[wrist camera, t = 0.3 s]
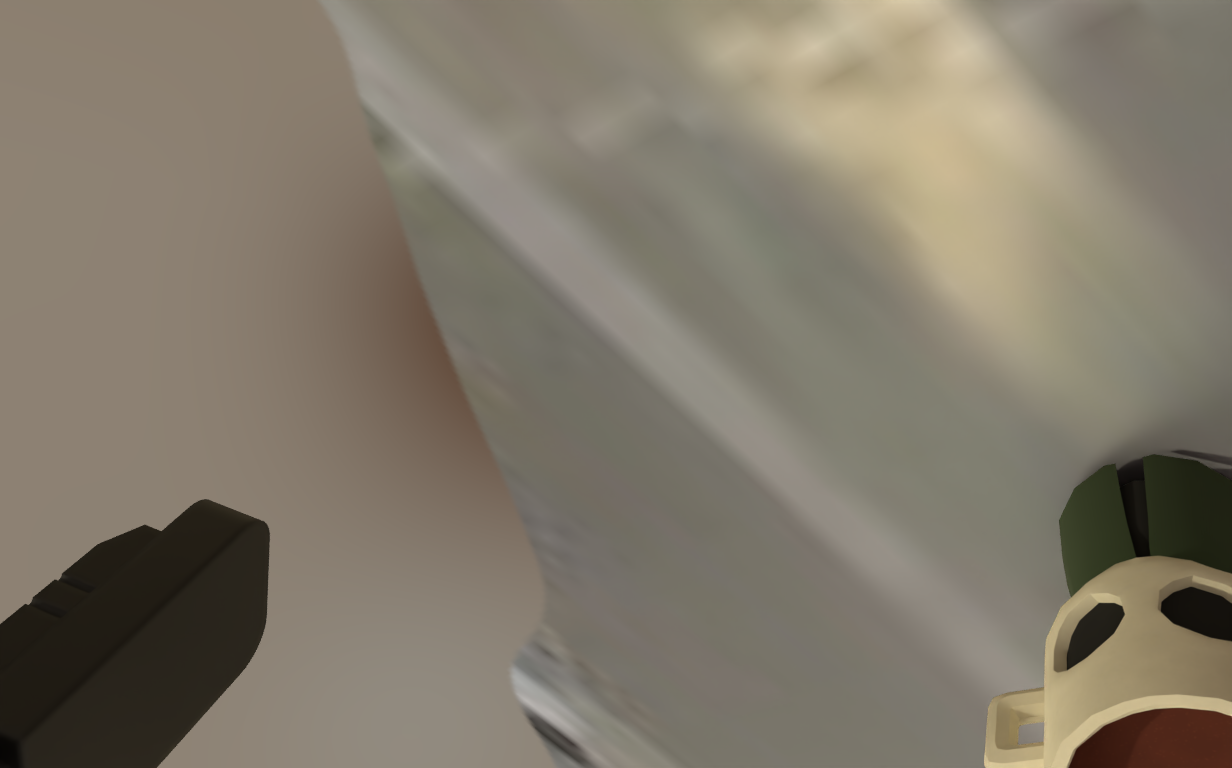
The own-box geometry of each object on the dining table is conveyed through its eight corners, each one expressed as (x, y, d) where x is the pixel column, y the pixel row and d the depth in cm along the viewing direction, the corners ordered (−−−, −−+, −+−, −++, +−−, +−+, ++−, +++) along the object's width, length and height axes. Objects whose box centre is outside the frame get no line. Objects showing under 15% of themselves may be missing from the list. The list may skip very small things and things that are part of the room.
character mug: (1303, 395, 37) (1407, 661, 26) (1359, 576, 39) (1477, 892, 28) (965, 476, 42) (933, 726, 31) (1031, 632, 44) (1022, 918, 33)
